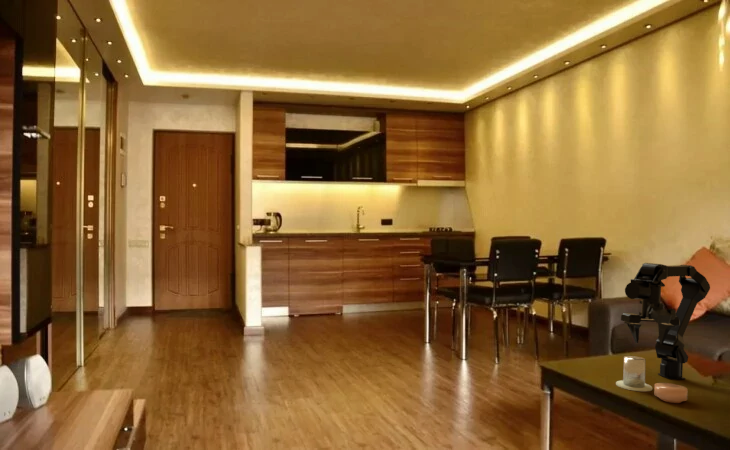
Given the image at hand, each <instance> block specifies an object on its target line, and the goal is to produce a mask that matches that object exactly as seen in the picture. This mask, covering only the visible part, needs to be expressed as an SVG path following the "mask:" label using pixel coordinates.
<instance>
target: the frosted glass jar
mask: <svg viewBox="0 0 730 450" xmlns="http://www.w3.org/2000/svg"><path fill="white" fill-rule="evenodd" d="M646 366H647V365H646V358H644V357H641V356H635V355H625V356H623V372H622V373H623V376H622V380H623V384H624V385H626V386H629V387H634V388H644V387H645V383H646Z"/></svg>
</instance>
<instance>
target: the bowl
mask: <svg viewBox="0 0 730 450" xmlns="http://www.w3.org/2000/svg"><path fill="white" fill-rule="evenodd" d="M653 387H654V390H653V391H654V392H653V394H654V395H653V396H655V397H657V398H659V400H661V401H663V402H665V403H666V402H667V403H672V404H680V403H682V402H685V401H687V400H688V388H687V387H686V386H683V385H681V384H680V385H679V384H675V383H670V382H657V383H654V386H653Z"/></svg>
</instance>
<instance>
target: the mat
mask: <svg viewBox="0 0 730 450" xmlns="http://www.w3.org/2000/svg"><path fill="white" fill-rule="evenodd" d="M615 385H616V387H619V388H621V389H624V390H628V391H632V392H645V393H646V392H651V391H653V386H652V385H650V384H648V383H646V382H645V387H644V388H634V387H629V386H626V385H624V384H623V379H621V380H617V381H615Z"/></svg>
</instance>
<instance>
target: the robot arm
mask: <svg viewBox="0 0 730 450" xmlns="http://www.w3.org/2000/svg"><path fill="white" fill-rule="evenodd" d="M669 277H679V278H678V283H679V285H680V286H681V288H680V291H681V295H682V298H681V301H680V302H679V305H678V307H677V309H676V310H675V309H674V308H667V309H664V303H663V302H661V295H662V294H661V293H662V288H664V287H666V284H665V283H664V282H662V281H665V280H667V278H669ZM710 290H711V285H710V282H709V281H708V279H707V278H706V276H704V275H703V274H702V273H700V272H699V271H698V270H697V269H696V267H695V266H693V265H691V264H690V265H689V264H680V265H665V264H661V263H654V262H653V263H651V262H644V263H642V266H640V268H639V270H638V272H637V274H636V275H635V276H634V279H633V278H632V279H630V282H629V283H627V284H626V286H625V288H624V293H625V296H626V297H627V298H628V299H631V300H639V304H640V305H641V311H639V312H638V313H637V314H636V313H633V312H623V313H622V314H621V315H620V321H622V322H623V323H624V324H626V326H627V327H628V330H629V331H630V333H631V335H632V338H633V341H634V343H636V344H639V339H640V328H641V326H642V324H640V322H652V323H653V322H655V323H657V324H658V325H657V327H658V337H657V339H656V340H655V345H654V349H655V353H656V358H658V359H661V360H660V361H661V363H660V364H659V372H658V373H657V375H658V376H661V377H663V378H666V379H668V380H686V377H685V376H683V373H684V372H683V370H684V369H683V367H684V366H683V365H684V364H686V363H688V359H689V354H687V352H686V351H685V350H684V349H685V342H684V339H683V337H684V335H685V332H686V330H687V328H688V325H689V323H690V321H691V318H692V316H693V314H694V311H695V310H696V307H697V304H699V303H700V302H701V301H702V300H704V299H705V298H706V297H707V295H708V293H709V292H710Z"/></svg>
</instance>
